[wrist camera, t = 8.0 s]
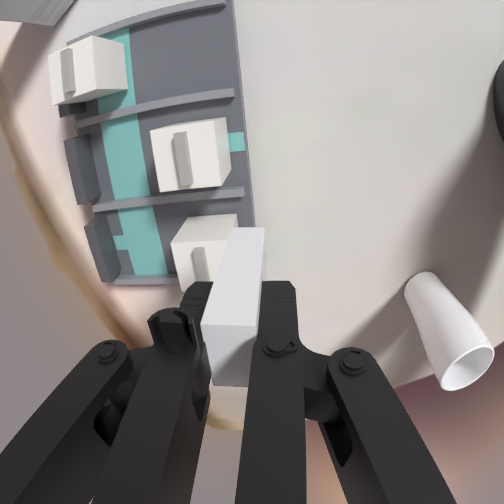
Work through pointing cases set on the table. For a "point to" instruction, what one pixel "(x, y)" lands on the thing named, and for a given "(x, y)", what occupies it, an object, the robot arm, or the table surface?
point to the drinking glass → (447, 332)
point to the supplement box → (34, 11)
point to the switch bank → (139, 140)
